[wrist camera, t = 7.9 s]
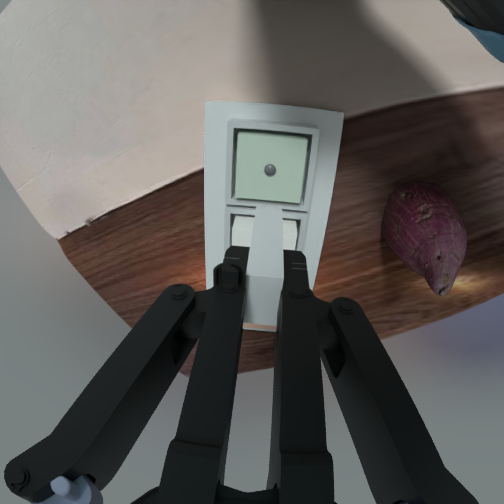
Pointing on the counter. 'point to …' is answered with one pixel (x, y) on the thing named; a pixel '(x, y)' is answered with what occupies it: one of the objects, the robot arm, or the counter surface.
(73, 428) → the robot arm
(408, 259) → the vegetable
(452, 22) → the counter surface
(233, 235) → the key two
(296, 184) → the key one
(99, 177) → the counter surface
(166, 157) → the counter surface
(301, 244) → the console
